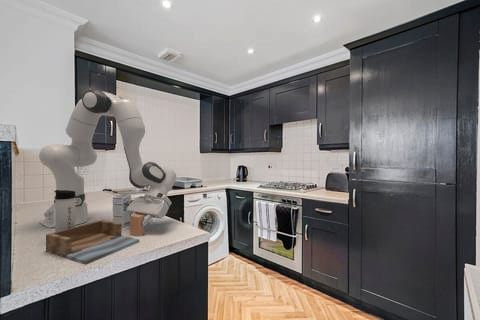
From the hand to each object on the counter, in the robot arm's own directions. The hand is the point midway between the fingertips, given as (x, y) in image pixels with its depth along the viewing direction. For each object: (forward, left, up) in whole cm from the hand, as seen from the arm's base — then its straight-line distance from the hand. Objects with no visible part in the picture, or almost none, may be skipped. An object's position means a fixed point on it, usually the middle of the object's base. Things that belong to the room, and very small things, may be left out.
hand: (137, 224), depth 94 cm
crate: (-3, -16, -4) cm, 17 cm away
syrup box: (-17, +6, -5) cm, 19 cm away
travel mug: (-20, -17, -5) cm, 27 cm away
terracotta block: (0, 0, -4) cm, 4 cm away
